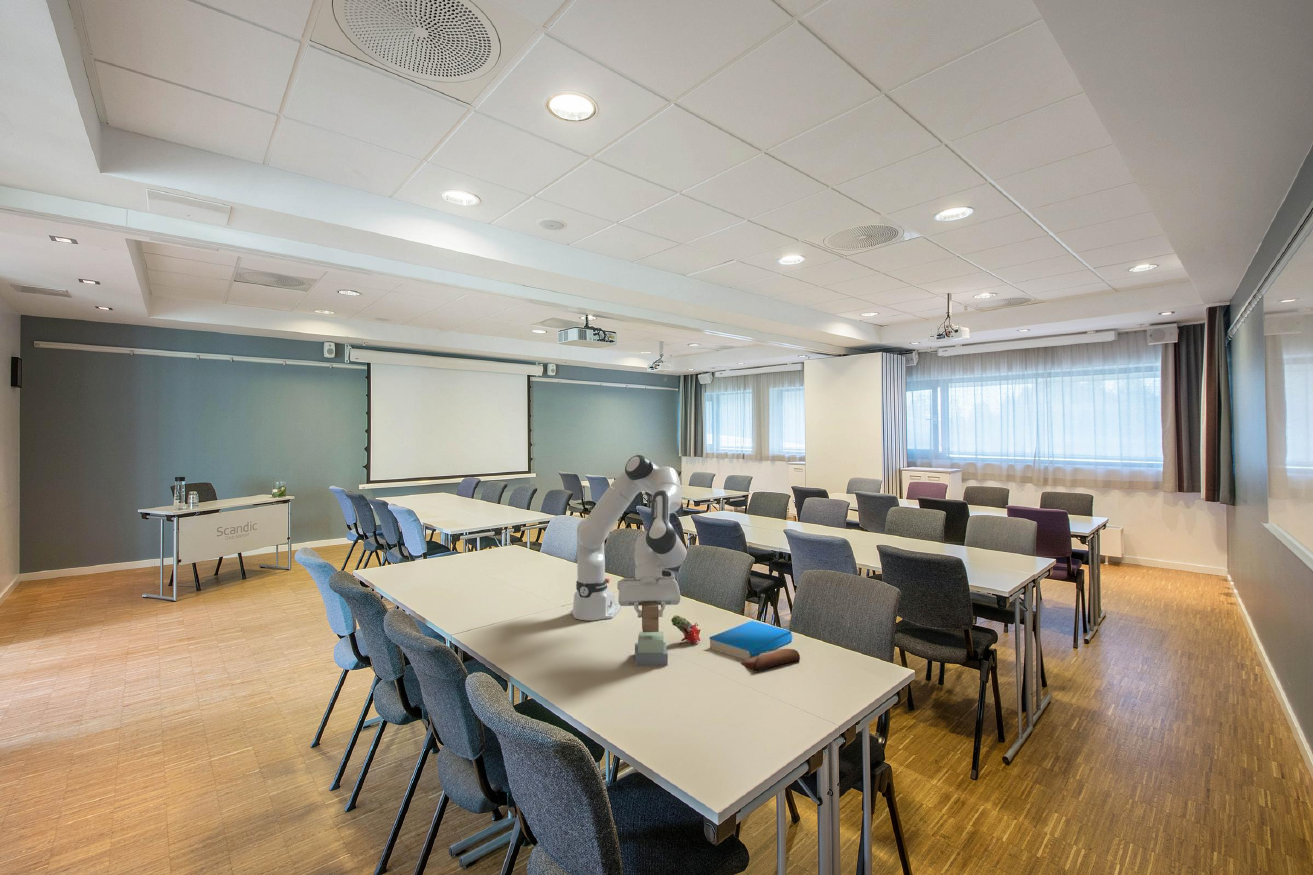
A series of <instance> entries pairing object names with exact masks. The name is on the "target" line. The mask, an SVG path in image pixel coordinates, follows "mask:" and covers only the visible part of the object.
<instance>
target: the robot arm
mask: <svg viewBox="0 0 1313 875" xmlns="http://www.w3.org/2000/svg"><path fill="white" fill-rule="evenodd" d="M681 485H682V484H681V480H680V477H679V474H678V472H677V470H675V468H673V467H671V466H661V467H660V466H659V465H657V464H655V463H654V462H652V461H651V460H650V459H649V458H648V457H646V456H644V455H641V454H635V455H633V456H632V457H630V458H629V459H628V460H627V462H626V464H625V468H624V470H623V472H621V473H620V474H619V475H618V476H616V478H615V479H614V480H613V481H612V483H610V486H608V487H607V489H606V490H605V492H604V493H603V494H602V495H601V496H600V498H599V499H598V501H597V502H596V504H595V506H594V507H593V508H592V509H591V511H590V512H589V514H588V515H587V516H586V517H584V518H582V519H581V520H580V522H579V523H578V525H577V527H576V528H577V529H576V544H577V545H576V547H577V548H576V556H577V558H576V559H577V563H576V565H577V566H576V567H577V570H576V571H577V580H576V583H575V590H576V591H575V593H574V594H573V606H572V609H571V610H570V615H572V616H573V618H574V619H576V620H580V621H599V620H600V621H601V620H604V619H606V620H607V619H612V618H614V617H615V615H616V614H617V613H618V612H619V611H620V610H621V608H622V607H633V608H634V610H635V612H636V613H637V618H641V619H642V609H640V608H639V606H640V607H642V602H657V603H658V606H660V609H658V610H659V618H663V617H664V616H663V615H664V614H663V612H664V610H665V608H666V606H671V605H672V606H676V605H679V604H680V603H681V592H680V590H681V589H680V587H679V583H678V581H677V580H676V578H675V577H676V576H675V575H676V574H675V573H674V571H671V570H669V569H673V568H677V567H680V566H682V564H684V562H685V561H686V558H687V556H688V550H687V548H686V546H685V544H684V543H683V542H682V540H681V539H680V537H679V535H678V534H677V532H676V530H675V529H674V527H673V524H671V523H670V514H672V513H675V512H677V511H678V510H679V509H680V508H681V506H682V502H683V492H682V486H681ZM641 492H644V494H645V496H649V497H652V498H651V505H650V506H651V508H650V509H651V510H650V522H649V525H648V529H647V530H646V533H644V534H641V535H640V536H639V537H638V538H637V539H636V542H635V546H634V563H635V569H634V576H635V577H631V578H625V577H624V578H621V579H620V580H618V581H617V587H616V588H617V590H618V604H617V603H616V596H615V594H614V593H613V592H612V591H611V590H610V589H609V588H608V584H610V581H611V580H610V578H608V577H607V578H606V558H605V557H606V556H605V541H606V539H607V538H608V536H609V535H610V533H611V532H612V531H613V529H614V527H615V525H617V522H618V520H619V519H620V518H621V517H622V515H624V512H625V511H626V510H627V509H628V507H629V506H630V505H631V503H633V500H634V499H635V497H636V496H637V495H638V494H639V493H641Z"/></svg>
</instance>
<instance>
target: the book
mask: <svg viewBox="0 0 1313 875" xmlns="http://www.w3.org/2000/svg"><path fill="white" fill-rule="evenodd" d="M792 640H793V633H792V631H791V630H788V629H785V628H781V627H777V626H773V625H770V624H766V623H763V622H758V621H755V620H750V621H747V622H746V623H742V624H740V625H737V626H735V627H732V628H729V629H727V630H725V631H723V632H720V633H716V634H715V635H712V636H710V637H709V649H711V650H716V651H718V652H722V653H724V654H727V655H731V656H732V657H737V658H740V659H743V660H744V661H745V660H747V659H749V658H752V657H755V656H758V655H760V654H761V653H765V652H769V651H774V650H777V649H778V648H780V647H782V646H785V645H786V644H788V643H790V642H792Z"/></svg>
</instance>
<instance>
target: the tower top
mask: <svg viewBox="0 0 1313 875" xmlns="http://www.w3.org/2000/svg"><path fill="white" fill-rule="evenodd" d="M637 643H638V653H664V631H659V632H644V633H643V631H638V635H637Z"/></svg>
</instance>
